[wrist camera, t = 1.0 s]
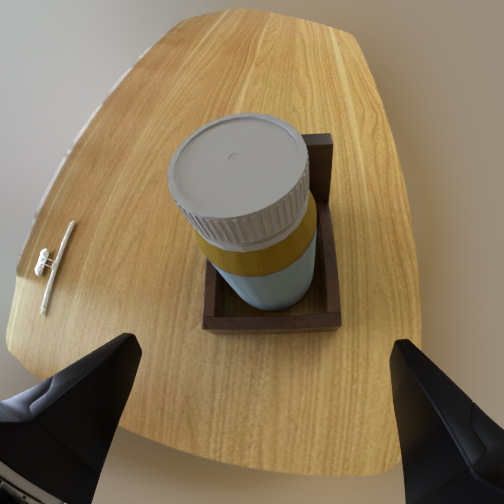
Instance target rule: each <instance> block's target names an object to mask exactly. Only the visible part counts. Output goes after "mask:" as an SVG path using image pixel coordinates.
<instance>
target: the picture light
mask: <svg viewBox="0 0 504 504" xmlns="http://www.w3.org/2000/svg"><path fill="white" fill-rule="evenodd" d="M73 226H74V220H73V221H72V222H71V223H70V226H68V230H67V232H66V235H65V237H64V240H63V242H62V245H61V247H60V250H59V253H58V255H57V258H56V260H54V261H52V260H50V259H48V258H47V257H48V256H49V253H48V249H43V250H42V251H41V254H40V257H39V260H38V263H37V266H36V267H35V274H36V275H38V276H40V274H42V273H43V268H44V266H45V265H47V264H45V263H46V260H47V259H48V260H50V261H52V262H53V265H52V267H51V266H49V265H47V266H49V267H51V270H52V273H51V276H50V279H49V282H48V286H47V289H46V292H45V296H44V299H43V303H42V306H41V307H42V309H41V315H42V314H44V312H45V309H46V305H47V301H48V298H49V294H50V291H51V287H52V284H53V281H54V278H55V274H56V271H57V268H58V265H59V263H60V260H61V257H62V254H63V251H64V249H65V246H66V243H67V241H68V238H69V236H70V233H71V231H72V229H73Z"/></svg>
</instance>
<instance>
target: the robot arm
mask: <svg viewBox="0 0 504 504" xmlns="http://www.w3.org/2000/svg"><path fill="white" fill-rule="evenodd" d="M141 356H142V349H141V347H140V345H139V343H138V341H137V338H136V336H135V335H134V334H131V333H123V334H121V335H119V336H118V337H116V338H114V339H113V340H111V341H109V342H108V343H106V344H104V345H103V346H101V347H99V348H98V349H96V350H95V351H93V352H91V353H90V354H88V355H86V356H85V357H83V358H81V359H80V360H78V361H76V362H75V363H73V364H71V365H70V366H68V367H67V368H65V369H63V370H62V371H60V372H58V373H57V374H55V375H54V376H52V377H50V378H48V379H47V380H45V381H43V382H41V383H40V384H38V385H36V386H34V387H33V388H30V389H28V390H26V391H24V392H22V393H21V394H18V395H16V396H14V397H12V398H10V399H8V400H5V401H0V504H64V502H65V503H67V504H91V503H92V500H93V496H94V493H95V490H96V487H97V484H98V480H99V477H100V473H101V471H102V468H103V465H104V462H105V459H106V456H107V453H108V450H109V448H110V445H111V442H112V439H113V436H114V434H115V431H116V428H117V426H118V423H119V420H120V418H121V415H122V413H123V410H124V407H125V405H126V402H127V400H128V397H129V395H130V392H131V389H132V387H133V383H134V380H135V376H136V373H137V370H138V366H139V363H140V360H141ZM390 372H391V383H392V395H393V405H394V411H395V416H396V422H397V428H398V434H399V441H400V448H401V456H402V464H403V473H404V484H405V499H406V504H504V429H502V428H501V427H500V426H499V425H498V424H496V423H495V422H494V421H493V420H492V419H491V418H490V417H489V416H487V415H486V414H485V413H484V412H483V411H482V410H481V409H480V408H479V407H478V406H477V405H476V404H475V403H474V402H473V403H472V400H471V399H470V398H469V397H468V396H467V395H466V394H465V393H464V392H463V391H462V390H461V389H460V388H459V387H458V386H457V385H456V384H455V383H454V382H453V381H452V380H451V379H450V378H449V377H448V376H447V375H446V374H445V373H444V372H443V371H442V370H440V369H439V368H438V367H437V366H436V365H435V364H434V363H433V362H432V361H431V360H430V359H429V358H428V357H427V356H426V355H424V353H422V352H421V351H420V350H419V349H418V348H417V347H416V346H415V345H414V344H413V343H412V342H411V341H410V340H408V339H399V340H396V341H395V343H394V346H393V349H392V352H391V356H390Z"/></svg>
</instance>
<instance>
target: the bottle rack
mask: <svg viewBox="0 0 504 504" xmlns="http://www.w3.org/2000/svg"><path fill="white" fill-rule="evenodd" d="M301 136H302V138H303V140H304V142H305V144H306V147H307V150H308V156H309V190H310V192H311V194H312V196H313V198H314V200H315V203H316V213H317V229H318V234H319V244H320V255H321V267H322V280H323V295H324V313H325V314H312V315H292V316H263V317H225V296H226V280H225V279H224V277H223V276H222V275H221V274H220V273H219V271H218V270H217V269H216V268H215V267H214V266H213V264H212V263H211V262H210V261H209V260H208V258H207V259H206V272H205V285H204V300H203V317H202V329H203V330H205V331H208V332H210V333H213V334H289V333H312V332H328V331H337V330H338V329H339V328H340V327H341V325H342V323H341V313H340V312H341V307H340V293H339V282H338V271H337V261H336V252H335V243H334V235H333V228H332V220H331V213H330V207H329V194H330V183H331V171H332V157H333V141H332V137H331V134H330V133H325V134H305V135H301Z"/></svg>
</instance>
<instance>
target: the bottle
mask: <svg viewBox="0 0 504 504" xmlns="http://www.w3.org/2000/svg"><path fill="white" fill-rule="evenodd" d="M168 185H169V190H170V192H171V196H172V197H173V200H174V201H175V203H176V204H177V205H178V207H179V208H180V209H181V211H182V212H183V214H184V215H185V216H186V218H187V219H188V220H189V222H190V223H191V224H192V226H193V227H194V231H195V236H196V240H197V243H198V245H199V246H200V248H201V249H202V251H203V253H204V254H205V255H206V257H207V258H208V260H209V261H210V262H211V263H212V264H213V266H214V267H215V268H216V269H217V270H218V271H219V273H220V274H221V275H222V276H223V277H224V279H225V280H226V281H227V282H228V283H229V284H230V286H231V287H232V288H233V289H234V290H235V291H236V293H237V294H238V295H239V296H240V297H241V298H242V299H243V300H244V301H245V302H246V303H248V304H249V305H250V306H252V307H254V308H256V309H259V310H262V311H281V310H284V309H287V308H290V307H292V306H294V305H295V304H296V303H298V302H299V301H300V300H301V299H302V298H303V297H304V296H305V294H306V293H307V292H308V290H309V288H310V285H311V282H312V278H313V273H314V260H315V247H316V232H317V213H316V203H315V200H314V198H313V196H312V194H311V192H310V190H309V156H308V150H307V147H306V144H305V142H304V140H303V138H302V136H301V135H300V133H299V132H298V131H297V130H296V129H295V128H294V127H293V126H292V125H291V124H289V123H288V122H286V121H284V120H282V119H280V118H278V117H275V116H271V115H267V114H261V113H240V114H233V115H229V116H225V117H222V118H219V119H216V120H214V121H211V122H209V123H207V124H205V125H204V126H202V127H200V128H199V129H197V130H196V131H194V132H193V133H192V134H191V135H189V136H188V137H187V138H186V139H185V140H184V141H183V142H182V143H181V145H180V146H179V147H178V148H177V150H176V151H175V153H174V155H173V157H172V159H171V161H170V164H169V168H168Z"/></svg>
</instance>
